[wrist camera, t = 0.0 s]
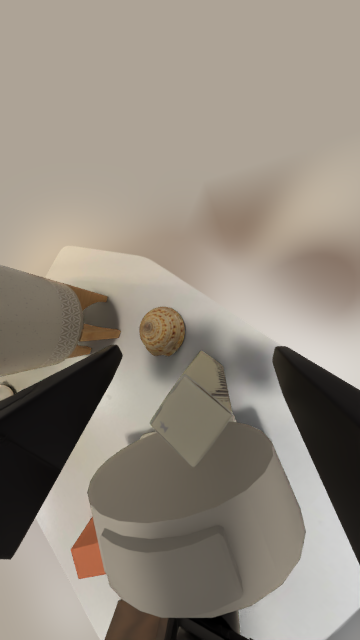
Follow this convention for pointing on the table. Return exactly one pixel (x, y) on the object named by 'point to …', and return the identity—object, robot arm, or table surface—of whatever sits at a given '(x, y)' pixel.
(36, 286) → the planter
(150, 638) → the walnut bar
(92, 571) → the terracotta bar
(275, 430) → the table surface
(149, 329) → the seashell
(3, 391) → the mug
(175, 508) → the alarm clock
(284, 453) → the table surface
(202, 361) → the box
